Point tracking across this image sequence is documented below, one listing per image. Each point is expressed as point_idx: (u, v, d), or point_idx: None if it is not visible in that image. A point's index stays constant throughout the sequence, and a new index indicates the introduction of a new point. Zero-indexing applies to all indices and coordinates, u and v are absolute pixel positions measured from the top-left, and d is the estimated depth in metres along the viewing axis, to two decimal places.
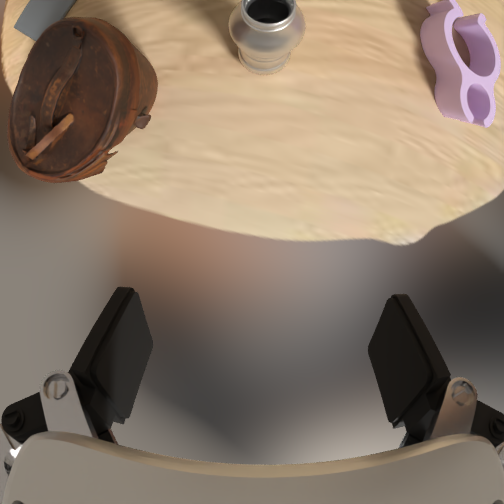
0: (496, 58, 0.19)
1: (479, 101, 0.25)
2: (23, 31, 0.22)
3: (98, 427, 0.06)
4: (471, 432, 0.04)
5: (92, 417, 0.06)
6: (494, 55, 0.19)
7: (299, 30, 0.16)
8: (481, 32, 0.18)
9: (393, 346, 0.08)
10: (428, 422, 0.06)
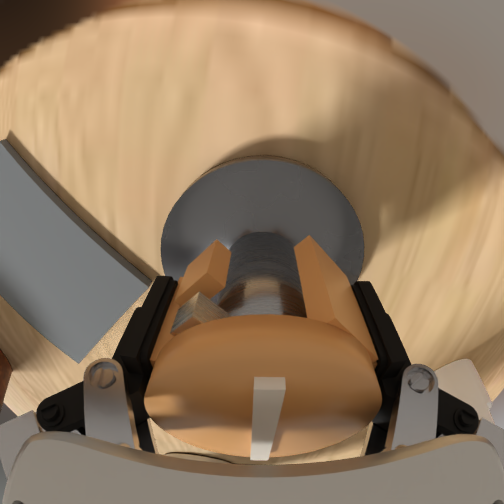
0: None
1: None
2: None
3: (142, 415, 0.07)
4: None
5: (134, 410, 0.06)
6: None
7: None
8: None
9: None
10: (389, 413, 0.06)
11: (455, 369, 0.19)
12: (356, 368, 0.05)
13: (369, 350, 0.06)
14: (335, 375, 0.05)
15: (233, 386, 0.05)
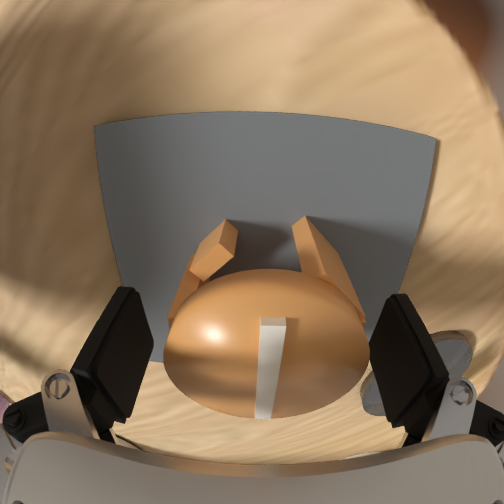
0: None
1: None
2: (328, 125, 0.09)
3: (99, 426, 0.06)
4: (470, 432, 0.04)
5: (93, 417, 0.06)
6: None
7: None
8: None
9: (392, 345, 0.08)
10: (427, 422, 0.06)
11: None
12: (344, 312, 0.07)
13: (356, 307, 0.08)
14: (326, 317, 0.06)
15: (243, 327, 0.07)
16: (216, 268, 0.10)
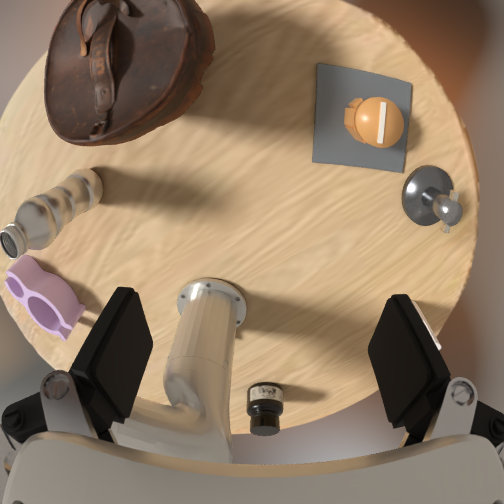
0: (39, 323, 0.46)
1: (21, 288, 0.45)
2: (382, 77, 0.28)
3: (98, 427, 0.06)
4: (471, 432, 0.04)
5: (92, 417, 0.06)
6: (41, 323, 0.47)
7: None
8: (55, 327, 0.48)
9: (393, 346, 0.08)
10: (428, 422, 0.06)
11: (416, 304, 0.47)
12: (395, 105, 0.26)
13: None
14: (392, 104, 0.26)
15: (377, 104, 0.26)
16: None
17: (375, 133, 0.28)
